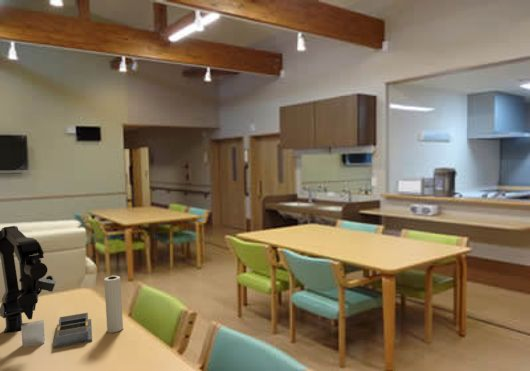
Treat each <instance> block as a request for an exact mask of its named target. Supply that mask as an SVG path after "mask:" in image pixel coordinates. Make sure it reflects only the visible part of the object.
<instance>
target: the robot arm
mask: <svg viewBox="0 0 530 371" xmlns="http://www.w3.org/2000/svg"><path fill="white" fill-rule="evenodd" d="M44 254H45V253H44V250H43V248H42V246H41V244H40V243H39V241H38V240H37V239H35V238H33V237H27V236H26V235H25V234H24V233H22V231H20V230H19V228H18V226H16V225H11V226H4V227H2V228H1V230H0V262H1V269H2V276H3V284H4V289H5V292H4V293H3V296H2V298H1V305H0V317H1V318H2V319H4V320H5V328H4V330H3V333H4V334H5V333H10V332H11V333H12V332H16V331H21V326H22V323H23V315H22V314H23V313H24V315H25V317H26V318H27V319H28V320H32V319H33V316H34V314H33V313H34V311H36V306H37V304H38V302H39V294H40V293H42V291H48V292H54V290H55V289H54V288H55V286H56V282H57V281H56V279H54V278H53V275H49V274H48V275H47V273H48V266H47V265H46V264H45V263H44V262H42V260H41V259H44V258H45V257H44ZM15 256H16V258H17V261H18V264H19V281H18V275H17V268H16V261H15V260H16V259H15ZM46 275H47V276H46ZM45 276H46V277H45ZM19 283H20V287H19Z"/></svg>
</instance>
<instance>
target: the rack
mask: <svg viewBox="0 0 530 371" xmlns="http://www.w3.org/2000/svg"><path fill="white" fill-rule="evenodd" d="M92 328H93V327H92V318H89V312H83V313H77V314H76V313H75V314H71V315H65V316H59V320H58V324H56V328H55V332H54V338H53V339H54V340H53V345H52V347H53V349H59V348H63V347H68V346H74V345H78V344H79V345H80V344H84V343H90V342H93V331H92V330H93V329H92Z"/></svg>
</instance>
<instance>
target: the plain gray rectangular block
mask: <svg viewBox="0 0 530 371" xmlns="http://www.w3.org/2000/svg"><path fill="white" fill-rule="evenodd" d="M20 331H21V340H22V341H21V342H22V348H27V347H28V348H29V347H34V346H37V345H43V344H45V341H46V340H45V339H46V338H45V337H46V336H45V322H44V319H40V320H37V321H36V320H35V321H30V322H22V326H21V330H20Z"/></svg>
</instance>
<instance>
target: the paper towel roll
mask: <svg viewBox="0 0 530 371" xmlns="http://www.w3.org/2000/svg"><path fill="white" fill-rule="evenodd" d="M103 280H104V294H105V295H104V298H105V311H106V313H105V315H106V330H107V332H108V333H117V332H120V331H122V330H123V329H124V322H123V320H124V318H123V302H122V285H121V284H122V283H121V277H120V276H119V275H113V274H111V275H110V276H107V277H104V279H103Z"/></svg>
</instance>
